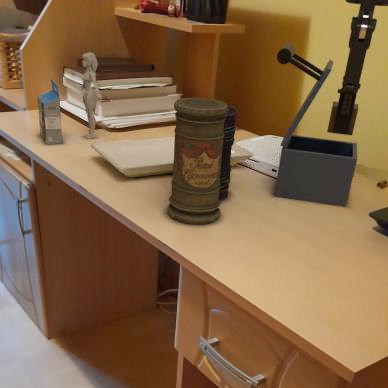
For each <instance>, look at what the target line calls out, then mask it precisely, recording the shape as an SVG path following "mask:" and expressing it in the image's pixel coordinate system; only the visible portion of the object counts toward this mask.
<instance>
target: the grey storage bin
mask: <svg viewBox="0 0 388 388" xmlns="http://www.w3.org/2000/svg"><path fill="white" fill-rule="evenodd" d="M281 147H282V146H281ZM357 162H358V143H357V142H352V141H343V140H335V139H329V138H319V137H313V136H303V135H296V134H292V135H291V137H290V139H289V140H288V142H287V144H286V145H285V147H282V148H281V150H280V156H279V164H278V169H277V176H276V183H275V188H274V197H278V198H284V199H285V198H286V199H291V200H298V201H305V202H314V203H319V204H326V205H331V206H332V205H333V206H340V207H347V203H348V199H349V196H350V191H351V188H352V184H353V183H352V182H353V179H354V176H355V175H354V174H355V170H356V166H357Z"/></svg>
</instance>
